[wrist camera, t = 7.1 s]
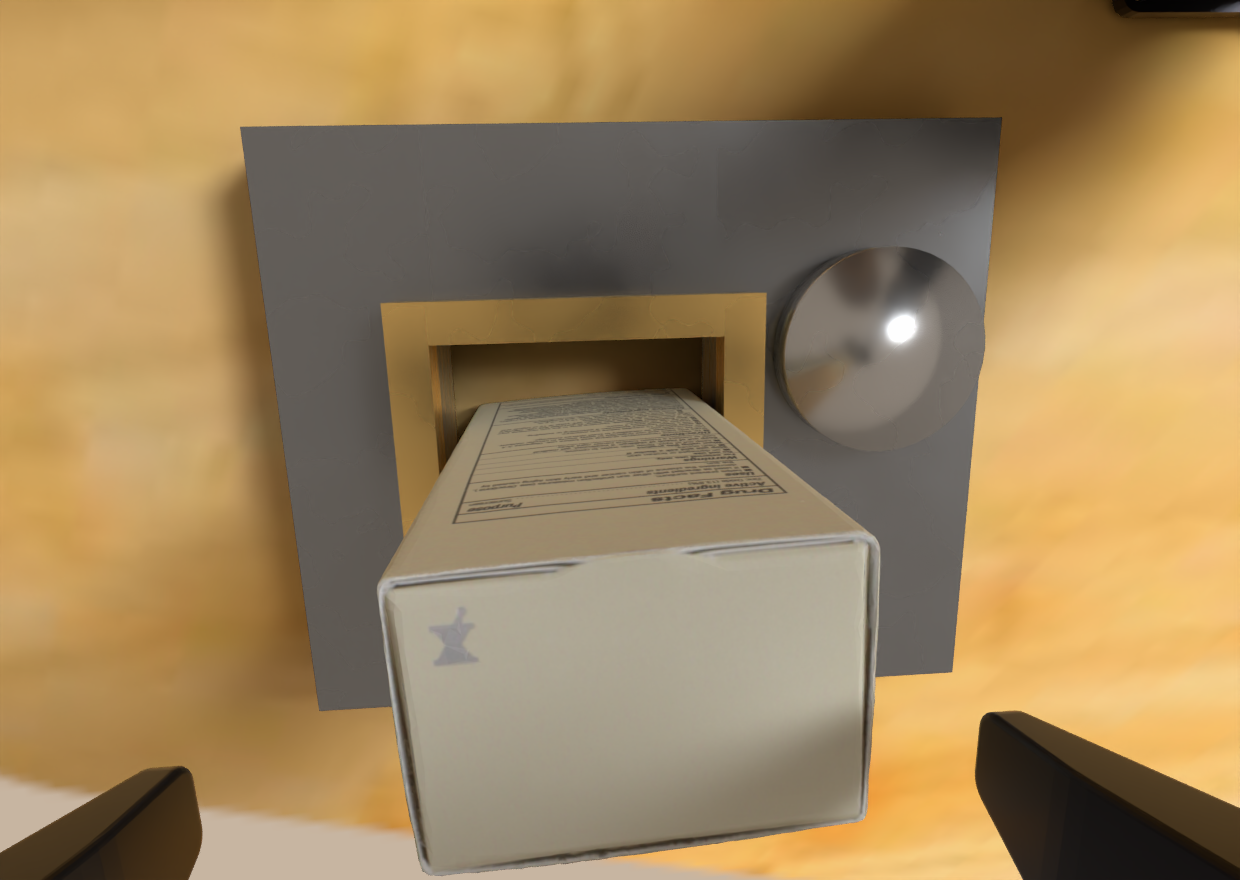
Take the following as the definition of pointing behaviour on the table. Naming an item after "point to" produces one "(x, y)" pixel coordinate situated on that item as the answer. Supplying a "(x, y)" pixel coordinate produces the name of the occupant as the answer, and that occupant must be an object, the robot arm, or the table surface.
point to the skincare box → (625, 639)
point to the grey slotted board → (629, 321)
